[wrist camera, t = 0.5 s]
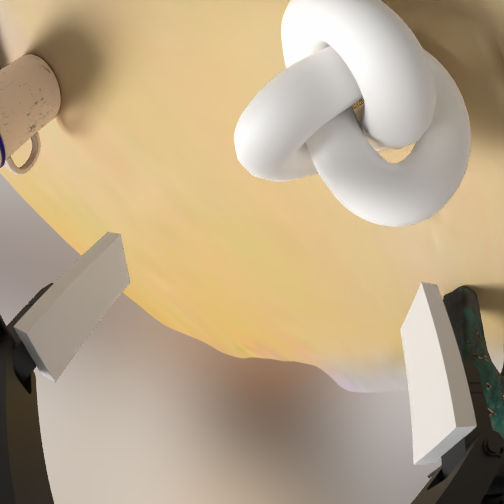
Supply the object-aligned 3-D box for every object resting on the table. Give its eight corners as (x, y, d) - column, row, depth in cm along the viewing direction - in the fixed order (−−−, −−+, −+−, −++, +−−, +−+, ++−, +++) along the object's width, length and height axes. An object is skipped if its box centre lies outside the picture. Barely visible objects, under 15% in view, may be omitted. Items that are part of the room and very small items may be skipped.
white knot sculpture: (489, 44, 11) (557, 102, 6) (416, 186, 21) (416, 287, 15) (302, -31, 12) (242, -34, 7) (270, 129, 22) (217, 212, 17)
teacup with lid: (7, 60, 22) (-72, 119, 16) (49, 42, 20) (-51, 109, 13) (39, 141, 32) (-25, 204, 25) (82, 141, 29) (8, 217, 23)
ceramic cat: (543, 341, 26) (533, 494, 15) (507, 357, 32) (490, 498, 20) (471, 273, 24) (450, 502, 13) (424, 300, 30) (388, 498, 18)
